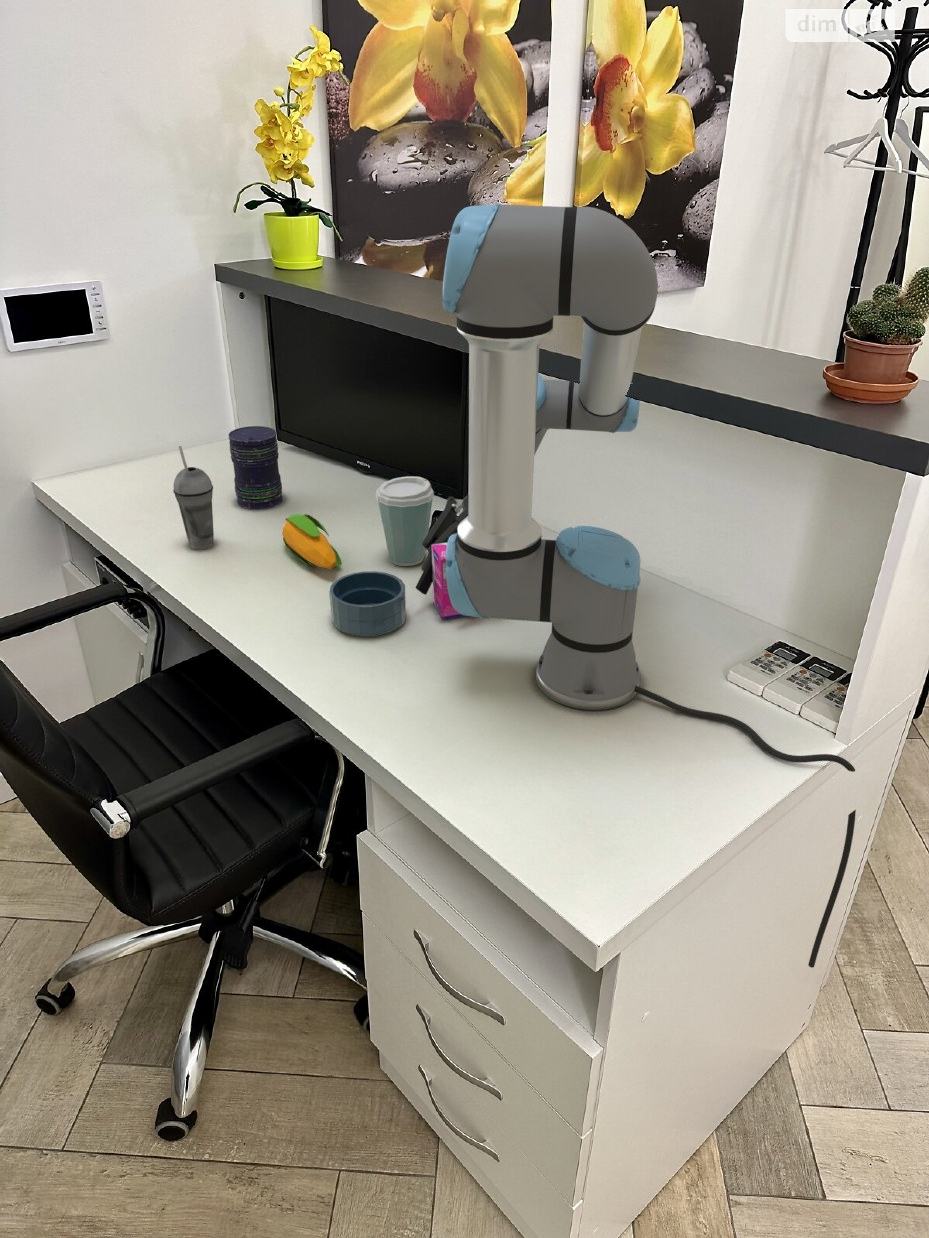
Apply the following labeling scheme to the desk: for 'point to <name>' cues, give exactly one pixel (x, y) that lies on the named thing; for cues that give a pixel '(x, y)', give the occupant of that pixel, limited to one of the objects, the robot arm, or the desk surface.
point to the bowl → (368, 603)
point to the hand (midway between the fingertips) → (440, 598)
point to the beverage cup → (195, 505)
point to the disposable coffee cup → (405, 517)
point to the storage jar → (256, 467)
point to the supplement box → (441, 583)
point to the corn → (309, 541)
